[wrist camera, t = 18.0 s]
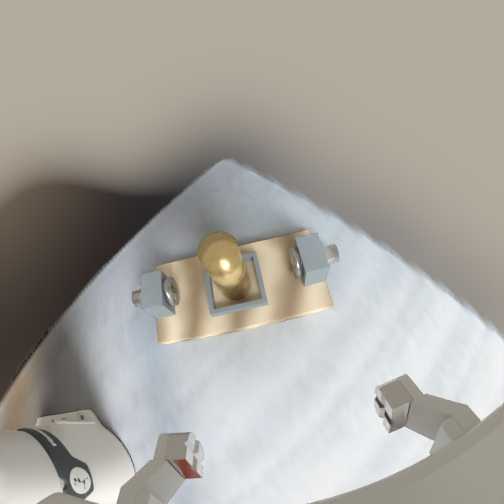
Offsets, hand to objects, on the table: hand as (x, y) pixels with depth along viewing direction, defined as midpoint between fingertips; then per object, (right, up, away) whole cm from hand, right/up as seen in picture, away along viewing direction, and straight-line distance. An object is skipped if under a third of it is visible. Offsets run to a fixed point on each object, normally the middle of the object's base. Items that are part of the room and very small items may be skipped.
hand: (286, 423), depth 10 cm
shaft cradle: (-4, +2, +29) cm, 29 cm away
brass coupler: (-4, +3, +28) cm, 28 cm away
